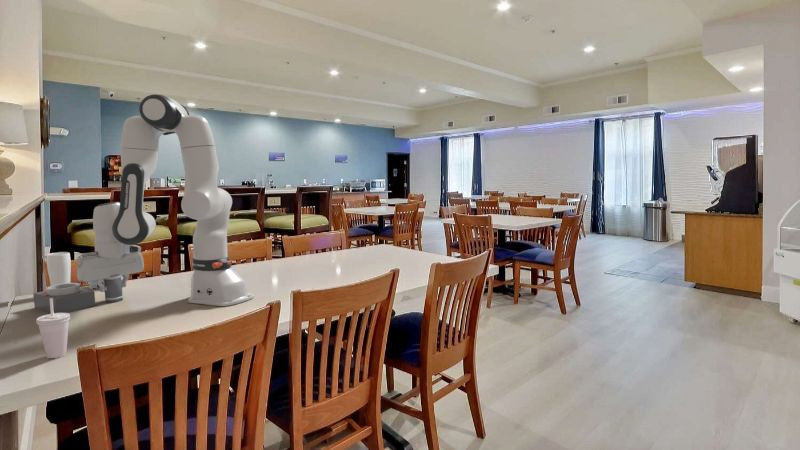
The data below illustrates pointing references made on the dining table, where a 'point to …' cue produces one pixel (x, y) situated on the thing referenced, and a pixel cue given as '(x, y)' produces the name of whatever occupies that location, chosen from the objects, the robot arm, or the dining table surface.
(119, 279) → the lens
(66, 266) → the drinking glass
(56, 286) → the camera body
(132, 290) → the dining table surface
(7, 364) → the dining table surface
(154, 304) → the dining table surface
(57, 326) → the smoothie
